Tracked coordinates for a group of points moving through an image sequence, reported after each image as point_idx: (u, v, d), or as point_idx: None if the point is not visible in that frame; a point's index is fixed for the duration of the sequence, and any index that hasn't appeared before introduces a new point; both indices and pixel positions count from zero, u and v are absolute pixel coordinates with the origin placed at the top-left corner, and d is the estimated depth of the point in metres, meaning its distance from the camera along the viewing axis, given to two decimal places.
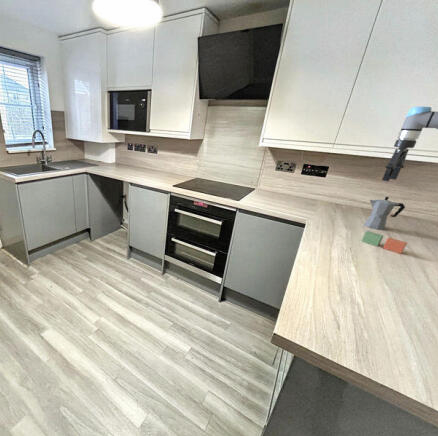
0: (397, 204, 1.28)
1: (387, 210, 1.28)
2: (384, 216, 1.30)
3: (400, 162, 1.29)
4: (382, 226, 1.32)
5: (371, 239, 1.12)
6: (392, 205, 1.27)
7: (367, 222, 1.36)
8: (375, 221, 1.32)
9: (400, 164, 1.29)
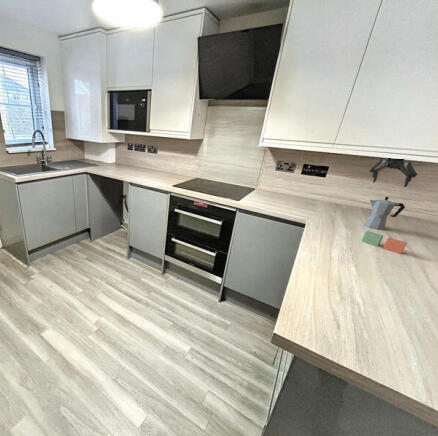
0: (397, 204, 1.28)
1: (387, 210, 1.28)
2: (384, 216, 1.30)
3: (404, 171, 1.37)
4: (382, 226, 1.32)
5: (371, 239, 1.12)
6: (392, 205, 1.27)
7: (367, 222, 1.36)
8: (375, 221, 1.32)
9: (406, 173, 1.36)
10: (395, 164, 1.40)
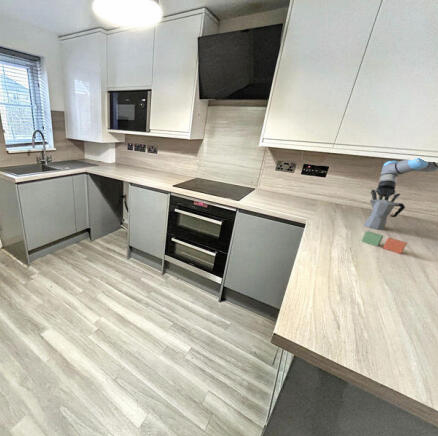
0: (397, 204, 1.28)
1: (387, 210, 1.28)
2: (384, 216, 1.30)
3: None
4: (382, 226, 1.31)
5: (371, 239, 1.12)
6: (392, 205, 1.27)
7: (367, 222, 1.36)
8: (375, 221, 1.32)
9: None
10: (386, 192, 1.40)
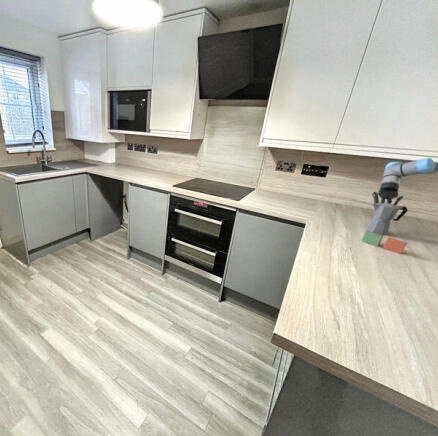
0: (400, 207, 1.22)
1: (392, 214, 1.21)
2: (388, 220, 1.23)
3: None
4: (386, 231, 1.25)
5: (371, 239, 1.12)
6: (397, 209, 1.20)
7: (370, 227, 1.28)
8: (379, 226, 1.25)
9: None
10: (388, 195, 1.33)
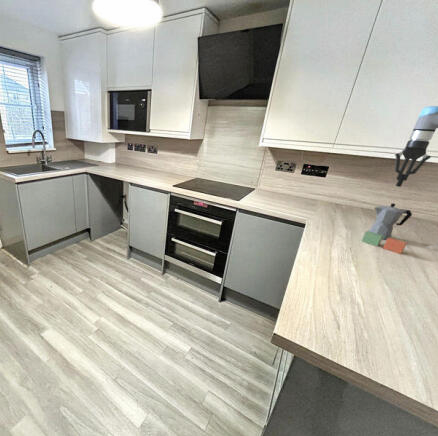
0: (404, 211, 1.15)
1: (395, 218, 1.15)
2: (391, 225, 1.17)
3: (409, 166, 1.22)
4: (389, 235, 1.18)
5: (371, 239, 1.12)
6: (400, 213, 1.14)
7: None
8: (381, 231, 1.19)
9: (408, 169, 1.22)
10: (413, 156, 1.20)
